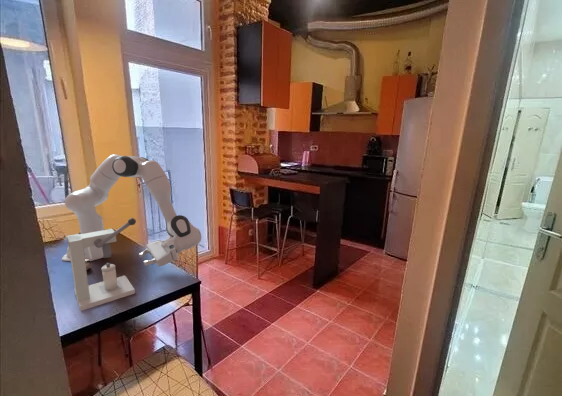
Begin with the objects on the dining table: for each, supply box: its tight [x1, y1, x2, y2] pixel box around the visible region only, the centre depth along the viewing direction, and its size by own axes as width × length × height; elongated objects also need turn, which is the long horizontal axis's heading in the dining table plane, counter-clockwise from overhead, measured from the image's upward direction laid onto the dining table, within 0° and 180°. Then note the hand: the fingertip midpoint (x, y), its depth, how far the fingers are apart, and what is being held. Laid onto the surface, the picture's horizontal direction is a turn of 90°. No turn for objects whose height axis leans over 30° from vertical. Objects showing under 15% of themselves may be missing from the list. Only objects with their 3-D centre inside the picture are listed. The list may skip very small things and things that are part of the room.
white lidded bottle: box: [100, 262, 118, 290], centre depth 125 cm, size 5×5×12 cm
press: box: [66, 217, 137, 312], centre depth 123 cm, size 24×16×34 cm
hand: (141, 259), depth 136 cm, fingers open, 8 cm apart
